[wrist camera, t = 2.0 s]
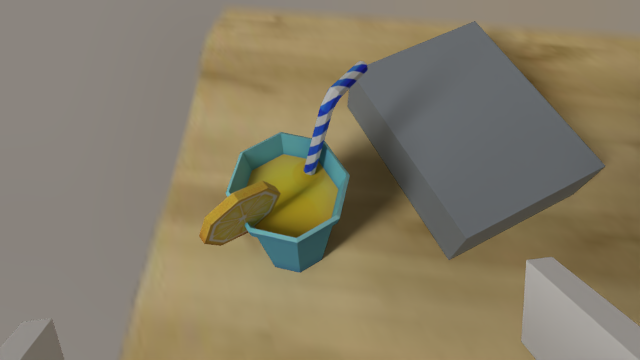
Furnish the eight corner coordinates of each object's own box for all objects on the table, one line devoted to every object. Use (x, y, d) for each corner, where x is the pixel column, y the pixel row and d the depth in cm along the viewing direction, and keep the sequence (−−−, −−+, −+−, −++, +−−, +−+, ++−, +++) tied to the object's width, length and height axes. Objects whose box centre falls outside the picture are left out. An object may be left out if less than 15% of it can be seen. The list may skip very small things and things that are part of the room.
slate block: (460, 58, 47) (475, 21, 43) (573, 193, 40) (605, 165, 36) (347, 106, 44) (350, 71, 40) (448, 260, 38) (466, 238, 33)
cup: (313, 150, 42) (312, 26, 29) (386, 195, 40) (421, 84, 27) (210, 273, 37) (149, 191, 24) (287, 332, 35) (269, 279, 22)
